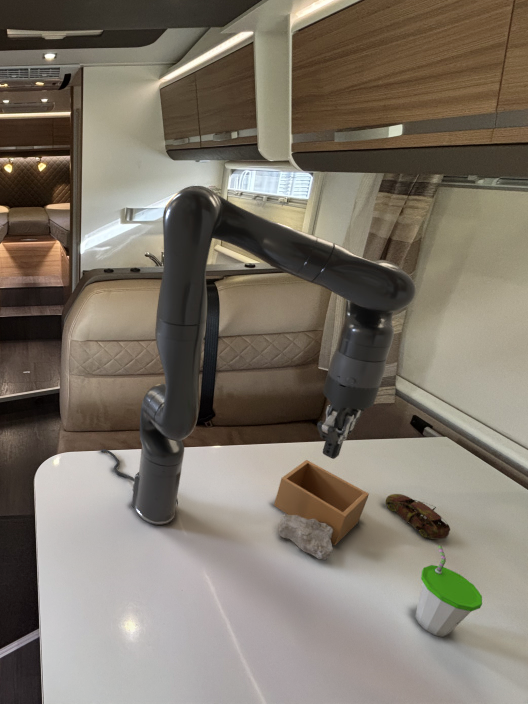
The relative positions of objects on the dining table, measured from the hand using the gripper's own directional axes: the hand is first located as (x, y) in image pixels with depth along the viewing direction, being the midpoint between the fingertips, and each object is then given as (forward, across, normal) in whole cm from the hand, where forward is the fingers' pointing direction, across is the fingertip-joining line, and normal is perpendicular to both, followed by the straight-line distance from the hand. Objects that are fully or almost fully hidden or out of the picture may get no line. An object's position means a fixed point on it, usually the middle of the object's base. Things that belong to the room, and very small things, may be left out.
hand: (330, 455), depth 81 cm
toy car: (+28, -32, +10) cm, 44 cm away
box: (+27, -15, -4) cm, 32 cm away
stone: (+28, -4, -1) cm, 28 cm away
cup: (+28, -6, +20) cm, 35 cm away
